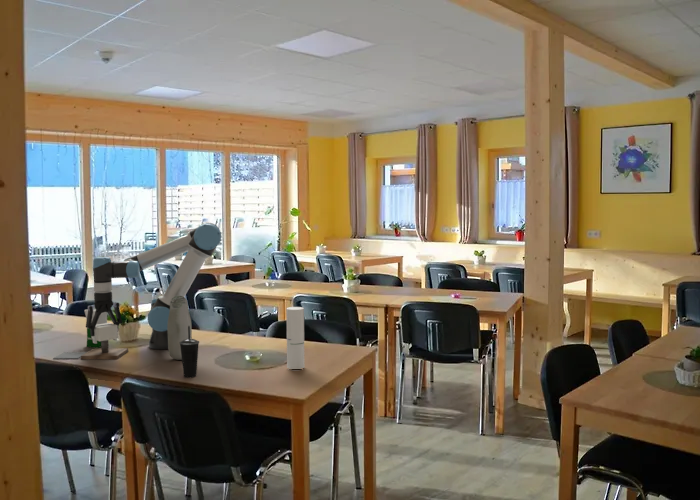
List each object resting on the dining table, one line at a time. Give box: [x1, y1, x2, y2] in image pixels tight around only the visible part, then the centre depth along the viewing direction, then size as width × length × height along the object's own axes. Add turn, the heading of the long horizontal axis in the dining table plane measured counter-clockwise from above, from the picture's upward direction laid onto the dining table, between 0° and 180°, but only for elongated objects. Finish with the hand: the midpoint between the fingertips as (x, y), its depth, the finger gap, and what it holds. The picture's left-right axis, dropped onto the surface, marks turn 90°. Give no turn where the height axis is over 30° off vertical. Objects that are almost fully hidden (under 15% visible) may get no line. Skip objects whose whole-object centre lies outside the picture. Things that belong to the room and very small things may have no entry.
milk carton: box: [84, 307, 109, 349], centre depth 305 cm, size 9×9×20 cm
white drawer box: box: [92, 322, 119, 341], centre depth 286 cm, size 8×8×6 cm
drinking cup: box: [179, 326, 200, 379], centre depth 251 cm, size 8×8×20 cm
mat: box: [52, 351, 88, 360], centre depth 285 cm, size 11×11×1 cm
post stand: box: [80, 340, 129, 360], centre depth 286 cm, size 16×14×12 cm
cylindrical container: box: [285, 306, 305, 370], centre depth 262 cm, size 7×7×25 cm
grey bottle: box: [167, 296, 193, 361], centre depth 278 cm, size 10×10×28 cm
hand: (104, 341), depth 286 cm, fingers closed on white drawer box, 8 cm apart
